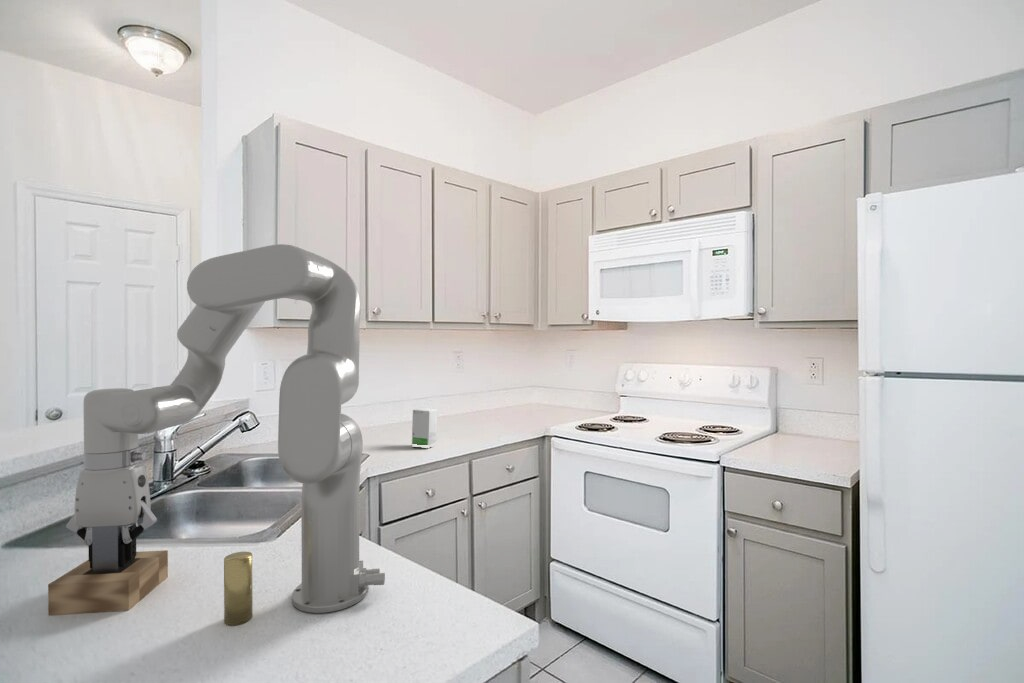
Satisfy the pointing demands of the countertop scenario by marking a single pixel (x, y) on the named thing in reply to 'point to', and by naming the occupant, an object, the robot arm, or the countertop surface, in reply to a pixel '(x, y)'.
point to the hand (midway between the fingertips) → (112, 563)
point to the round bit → (238, 588)
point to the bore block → (107, 586)
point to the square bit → (107, 550)
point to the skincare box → (424, 426)
